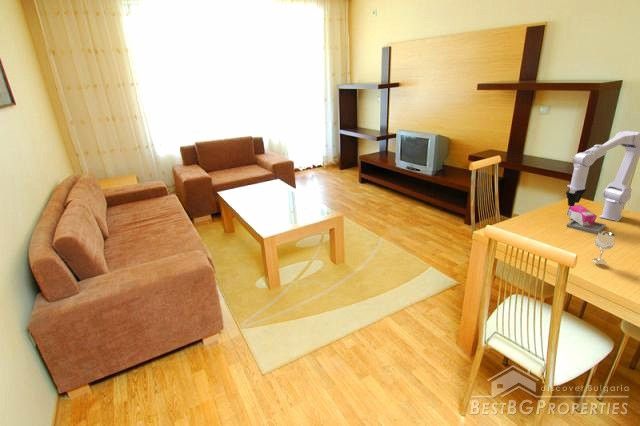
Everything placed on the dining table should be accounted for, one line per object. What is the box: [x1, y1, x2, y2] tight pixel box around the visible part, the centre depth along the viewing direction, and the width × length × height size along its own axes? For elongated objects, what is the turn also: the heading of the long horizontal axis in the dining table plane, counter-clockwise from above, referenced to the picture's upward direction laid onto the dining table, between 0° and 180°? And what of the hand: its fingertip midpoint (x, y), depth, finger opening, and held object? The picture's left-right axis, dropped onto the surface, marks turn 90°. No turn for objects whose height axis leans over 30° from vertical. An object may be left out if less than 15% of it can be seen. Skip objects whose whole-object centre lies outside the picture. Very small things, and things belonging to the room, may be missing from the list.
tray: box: [566, 219, 607, 235], centre depth 167 cm, size 13×13×2 cm
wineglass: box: [592, 230, 616, 265], centre depth 133 cm, size 6×6×12 cm
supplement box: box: [566, 204, 598, 226], centre depth 171 cm, size 6×6×12 cm
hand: (573, 204), depth 169 cm, fingers open, 7 cm apart
